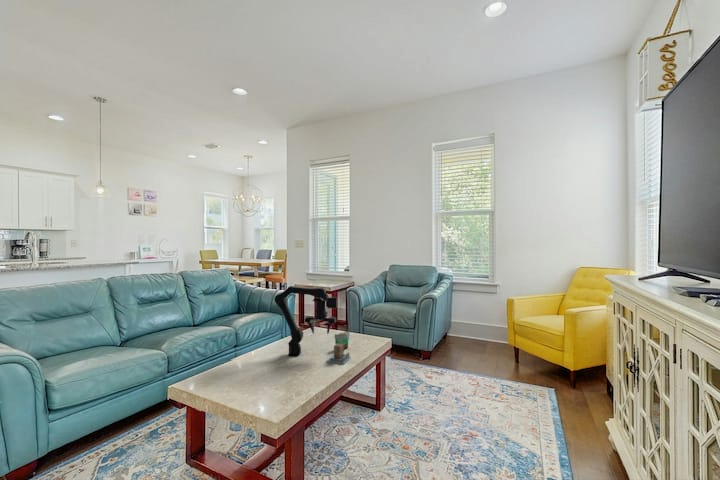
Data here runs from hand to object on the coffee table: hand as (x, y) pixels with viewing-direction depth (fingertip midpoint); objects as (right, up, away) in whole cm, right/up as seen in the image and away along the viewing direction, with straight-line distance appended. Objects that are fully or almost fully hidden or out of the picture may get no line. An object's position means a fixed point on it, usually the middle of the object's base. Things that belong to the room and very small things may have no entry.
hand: (320, 333), depth 203 cm
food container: (+14, -13, +12) cm, 23 cm away
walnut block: (+12, -12, -9) cm, 19 cm away
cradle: (+12, -13, -9) cm, 20 cm away
